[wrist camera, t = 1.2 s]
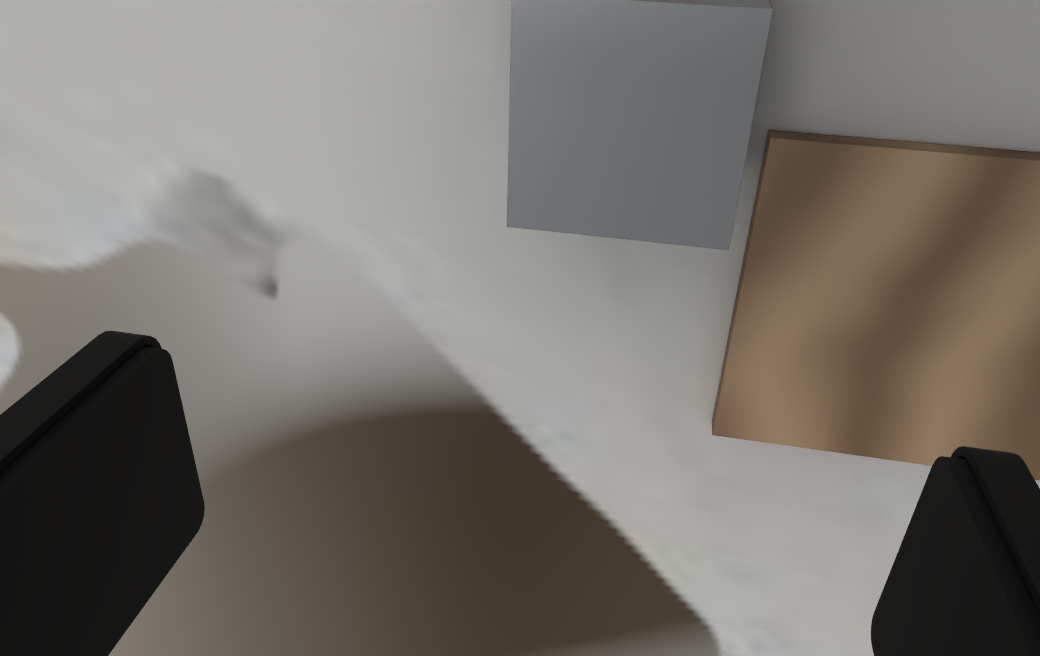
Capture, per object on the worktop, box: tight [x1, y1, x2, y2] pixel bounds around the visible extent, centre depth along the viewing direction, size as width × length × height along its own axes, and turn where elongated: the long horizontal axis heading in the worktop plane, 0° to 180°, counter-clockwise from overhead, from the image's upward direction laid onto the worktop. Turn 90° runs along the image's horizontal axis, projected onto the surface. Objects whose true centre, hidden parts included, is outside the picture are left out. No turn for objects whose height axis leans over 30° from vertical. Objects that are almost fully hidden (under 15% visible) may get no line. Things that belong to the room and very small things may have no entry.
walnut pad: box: [712, 130, 1040, 480], centre depth 33 cm, size 14×14×1 cm
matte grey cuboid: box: [507, 0, 773, 250], centre depth 27 cm, size 7×7×8 cm
